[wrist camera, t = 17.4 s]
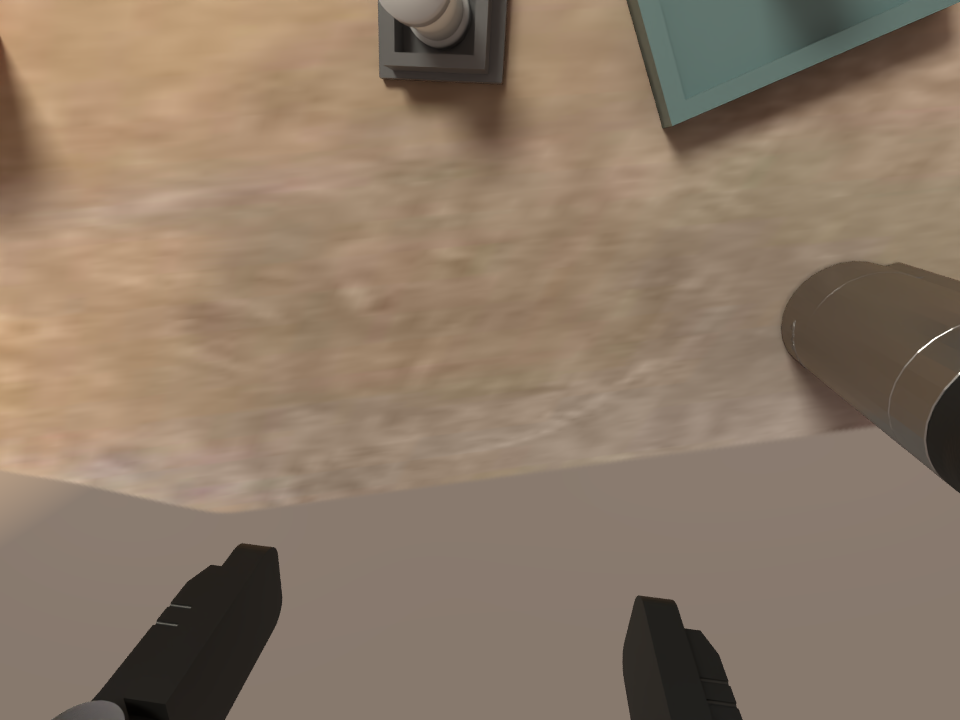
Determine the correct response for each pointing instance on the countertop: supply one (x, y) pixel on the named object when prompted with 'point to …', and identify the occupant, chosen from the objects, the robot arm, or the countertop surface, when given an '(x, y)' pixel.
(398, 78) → the block
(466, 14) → the peg
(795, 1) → the tray
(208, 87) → the countertop surface
